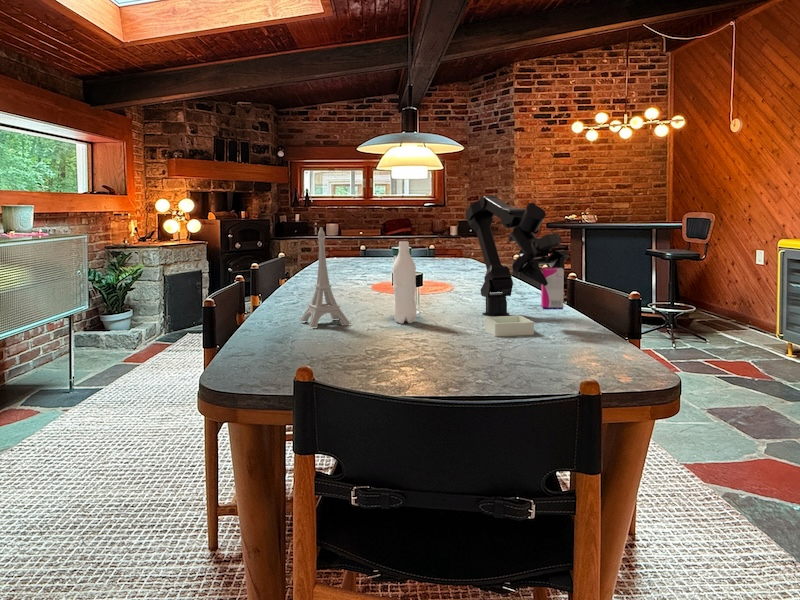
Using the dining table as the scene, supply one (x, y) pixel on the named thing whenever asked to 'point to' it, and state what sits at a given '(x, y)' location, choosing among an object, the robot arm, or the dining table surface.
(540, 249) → the robot arm
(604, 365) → the dining table surface
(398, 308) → the water bottle
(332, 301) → the eiffel tower
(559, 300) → the supplement box
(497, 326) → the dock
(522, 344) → the dining table surface
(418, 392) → the dining table surface
